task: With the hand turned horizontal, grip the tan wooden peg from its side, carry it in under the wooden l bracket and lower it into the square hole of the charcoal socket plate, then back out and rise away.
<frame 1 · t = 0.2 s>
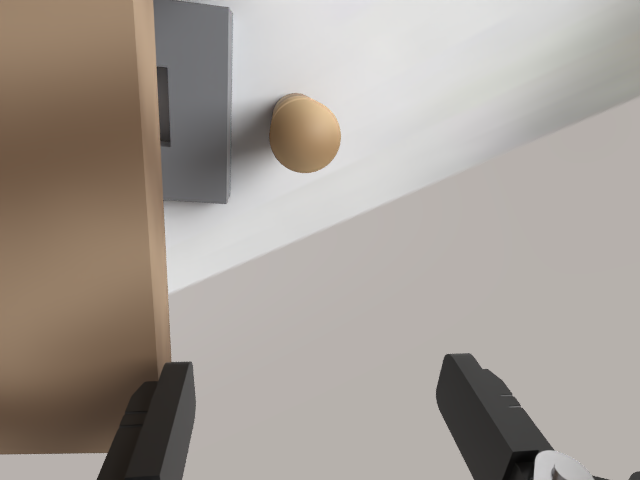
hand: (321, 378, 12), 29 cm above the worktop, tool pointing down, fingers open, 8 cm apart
wooden l bracket: (151, 80, 34), on the worktop
socket plate: (140, 103, 35), on the worktop
wooden peg: (295, 118, 37), on the worktop
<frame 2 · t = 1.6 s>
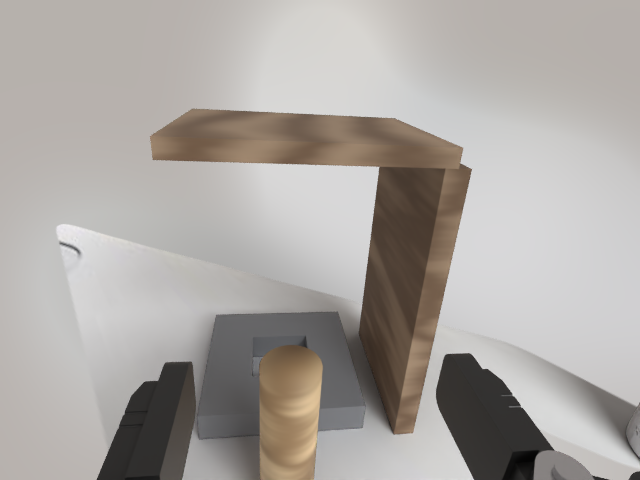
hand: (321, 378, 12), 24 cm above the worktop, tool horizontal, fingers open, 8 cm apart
wooden l bracket: (297, 379, 45), on the worktop
socket plate: (280, 374, 45), on the worktop
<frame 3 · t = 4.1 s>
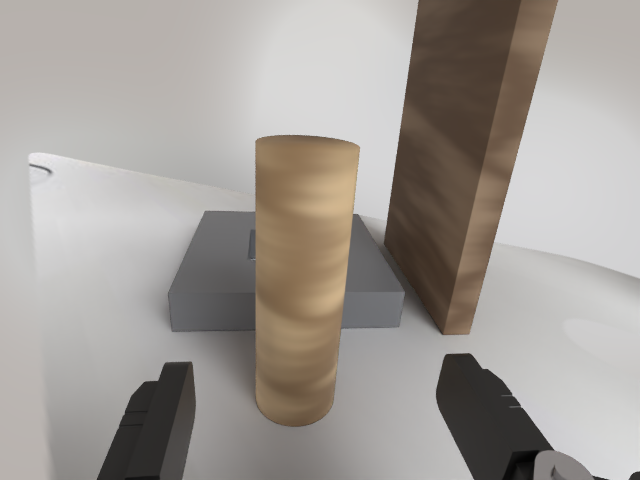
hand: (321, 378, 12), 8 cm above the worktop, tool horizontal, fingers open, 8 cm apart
wooden l bracket: (308, 280, 34), on the worktop
socket plate: (285, 274, 35), on the worktop
wooden peg: (294, 393, 22), on the worktop
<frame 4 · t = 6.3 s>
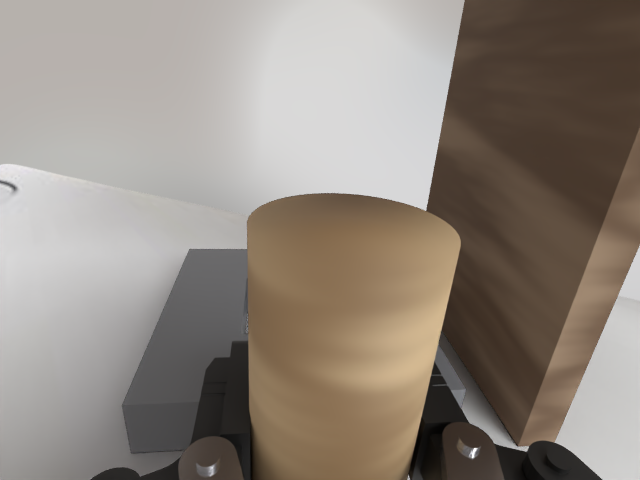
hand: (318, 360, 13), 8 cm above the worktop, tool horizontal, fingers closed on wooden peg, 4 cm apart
wooden l bracket: (323, 348, 26), on the worktop
socket plate: (292, 339, 26), on the worktop
when the fingers open (9 cm above the worktop, at t = 11.2 s): wooden peg stays where it is, resting in socket plate.
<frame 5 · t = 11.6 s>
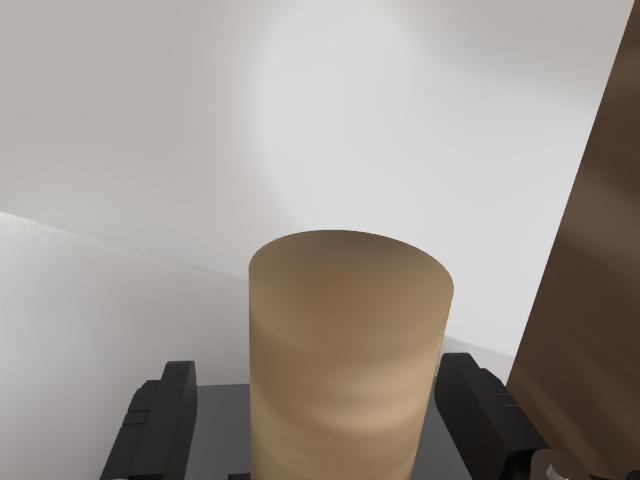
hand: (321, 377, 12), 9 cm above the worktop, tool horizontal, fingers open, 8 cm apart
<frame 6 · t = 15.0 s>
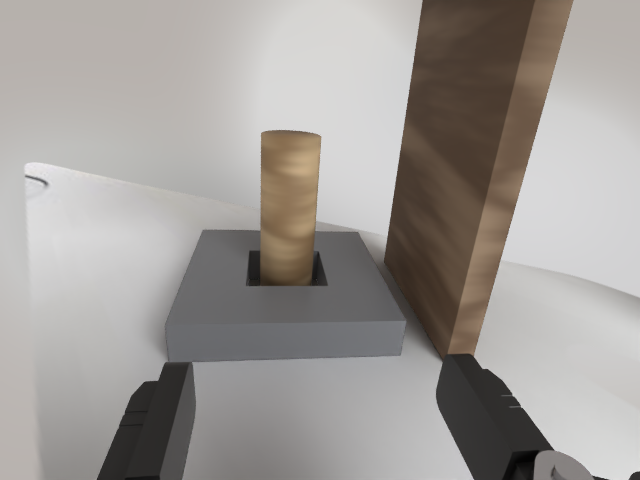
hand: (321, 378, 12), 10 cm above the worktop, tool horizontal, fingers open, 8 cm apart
wooden l bracket: (308, 303, 34), on the worktop
socket plate: (284, 297, 34), on the worktop
wooden peg: (285, 297, 34), resting in socket plate
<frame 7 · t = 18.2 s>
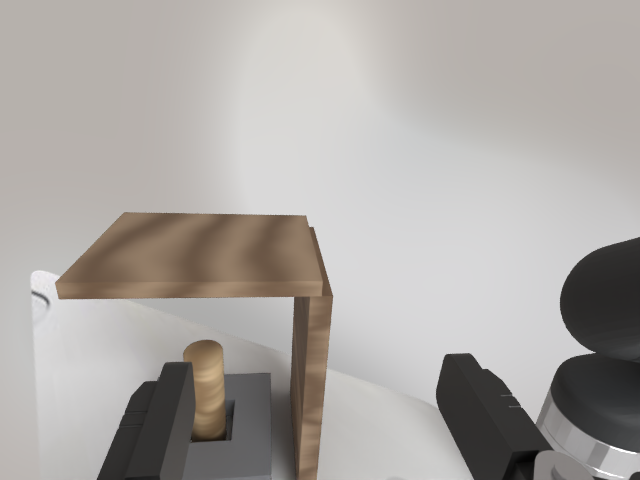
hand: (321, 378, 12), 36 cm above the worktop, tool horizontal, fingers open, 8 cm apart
wooden l bracket: (223, 442, 50), on the worktop
socket plate: (209, 436, 51), on the worktop
wooden peg: (209, 437, 51), resting in socket plate
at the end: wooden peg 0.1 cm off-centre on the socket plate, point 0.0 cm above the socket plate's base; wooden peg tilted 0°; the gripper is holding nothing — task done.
